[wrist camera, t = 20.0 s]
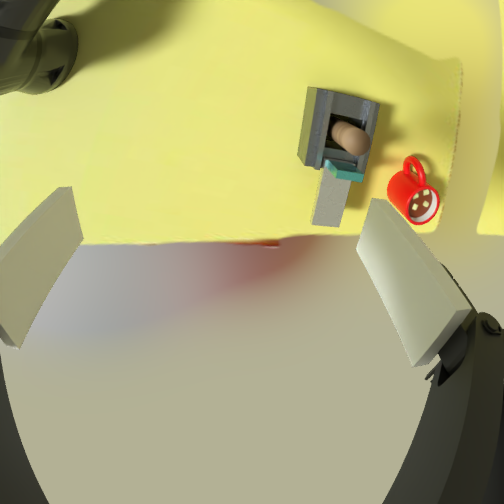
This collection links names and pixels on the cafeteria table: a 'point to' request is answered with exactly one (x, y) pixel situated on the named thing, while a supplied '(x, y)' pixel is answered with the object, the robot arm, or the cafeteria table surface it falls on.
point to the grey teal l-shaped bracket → (333, 191)
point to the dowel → (348, 136)
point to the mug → (413, 193)
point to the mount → (317, 122)
